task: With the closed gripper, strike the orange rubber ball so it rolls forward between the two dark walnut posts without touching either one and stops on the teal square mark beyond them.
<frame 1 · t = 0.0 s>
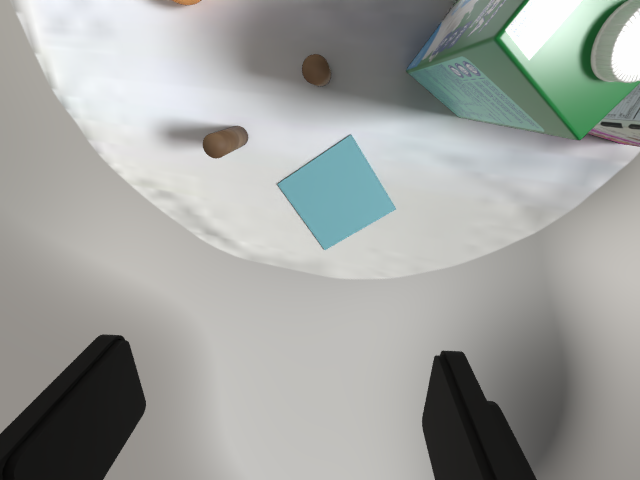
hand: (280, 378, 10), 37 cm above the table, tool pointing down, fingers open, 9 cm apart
milk carton: (459, 61, 39), on the table
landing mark: (337, 196, 46), on the table
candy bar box: (592, 111, 40), on the table
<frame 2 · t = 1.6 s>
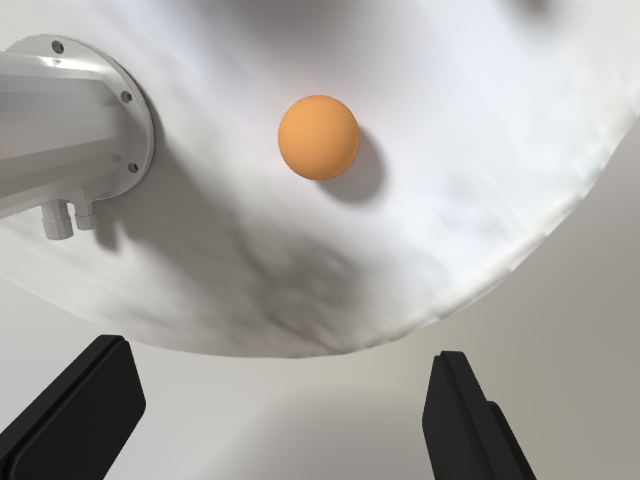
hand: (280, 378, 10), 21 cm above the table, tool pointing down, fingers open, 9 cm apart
ball: (318, 139, 24), on the table
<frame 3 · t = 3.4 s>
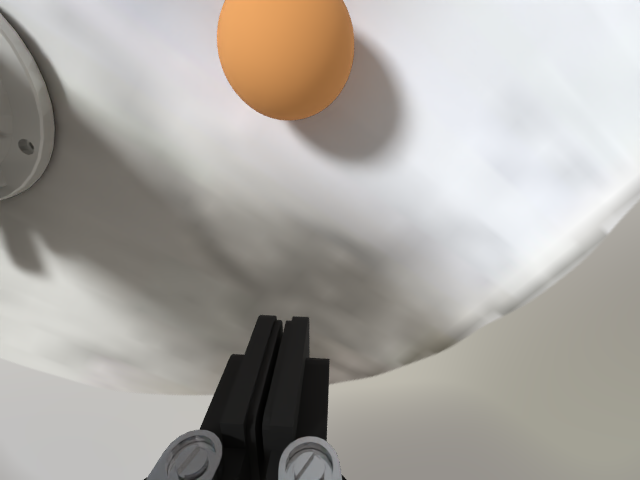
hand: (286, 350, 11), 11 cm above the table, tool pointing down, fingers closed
ball: (287, 49, 15), on the table
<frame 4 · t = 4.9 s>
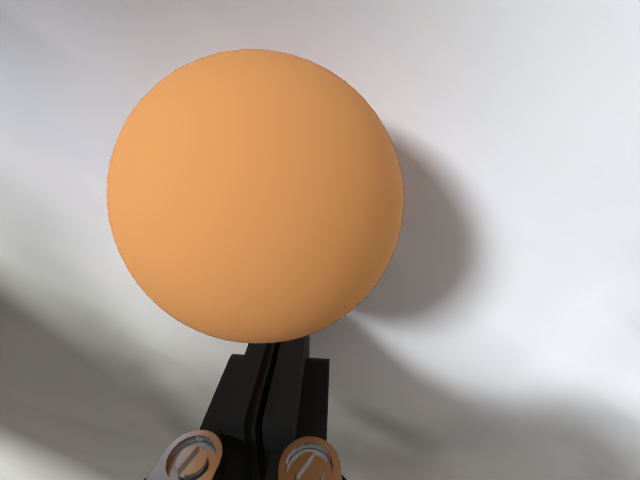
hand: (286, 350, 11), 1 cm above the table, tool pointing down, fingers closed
ball: (265, 203, 7), on the table
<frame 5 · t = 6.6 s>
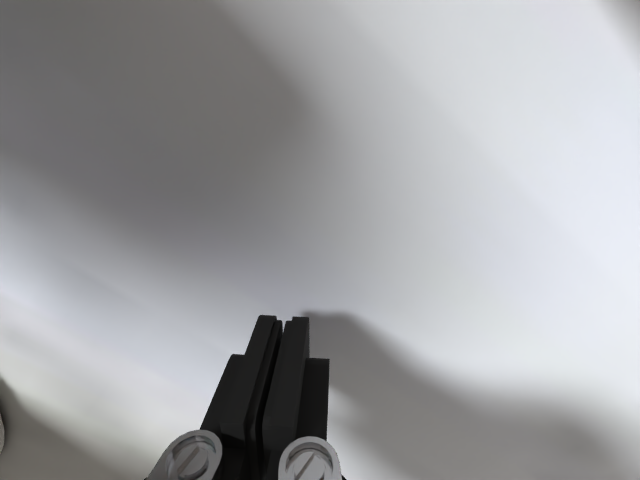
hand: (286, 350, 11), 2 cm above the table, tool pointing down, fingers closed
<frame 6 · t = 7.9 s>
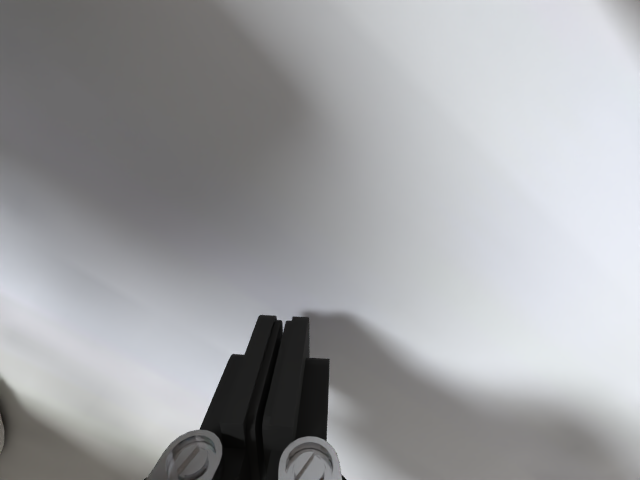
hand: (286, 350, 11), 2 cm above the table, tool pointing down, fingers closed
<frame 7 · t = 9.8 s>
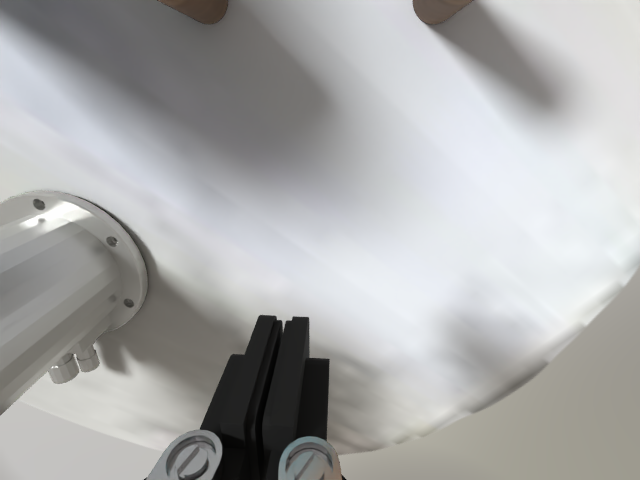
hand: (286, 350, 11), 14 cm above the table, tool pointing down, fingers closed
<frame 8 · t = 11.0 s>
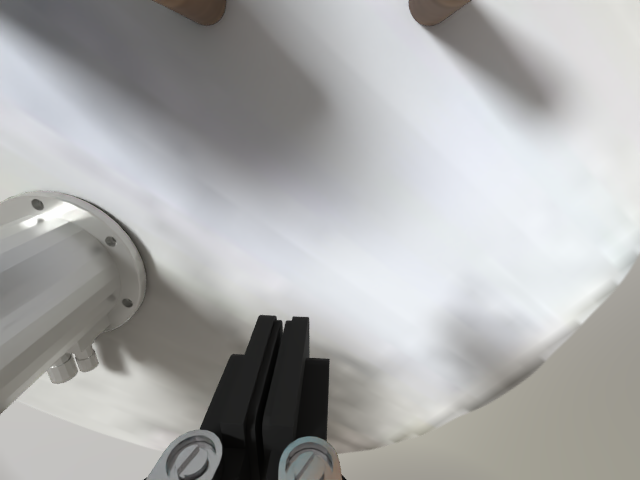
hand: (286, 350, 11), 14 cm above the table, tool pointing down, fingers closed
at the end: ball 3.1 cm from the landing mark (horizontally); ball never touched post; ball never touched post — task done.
